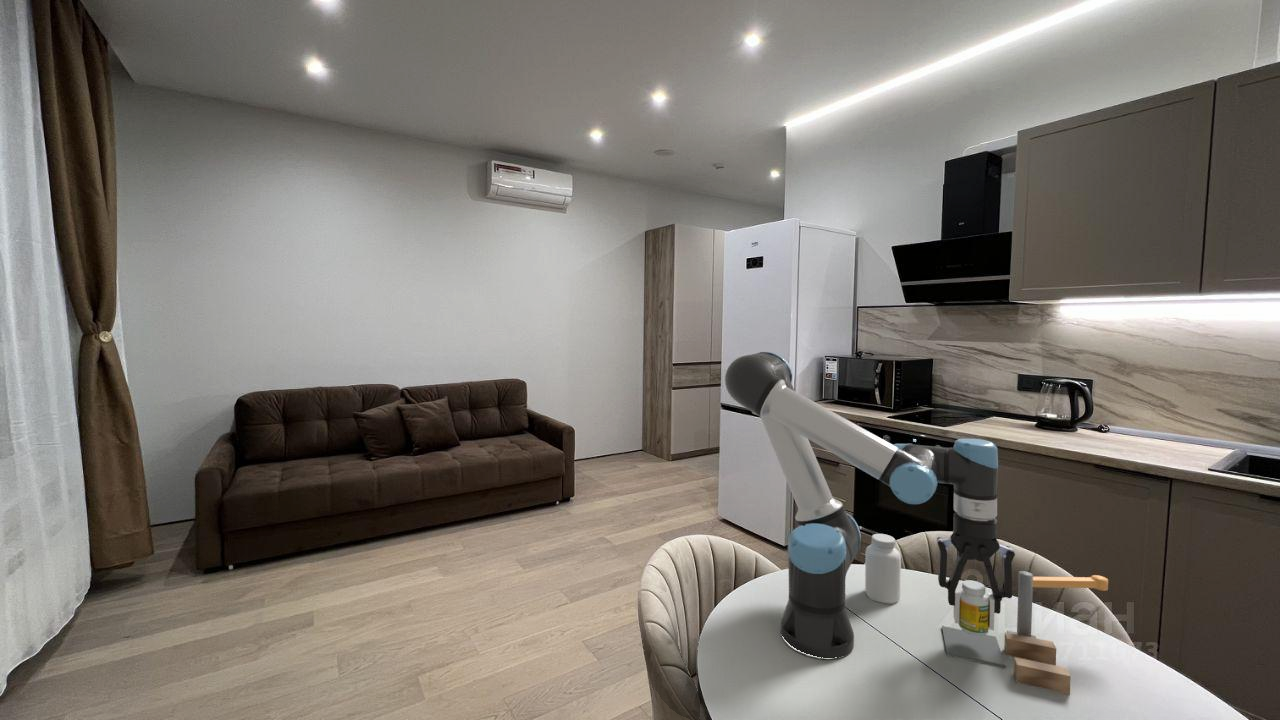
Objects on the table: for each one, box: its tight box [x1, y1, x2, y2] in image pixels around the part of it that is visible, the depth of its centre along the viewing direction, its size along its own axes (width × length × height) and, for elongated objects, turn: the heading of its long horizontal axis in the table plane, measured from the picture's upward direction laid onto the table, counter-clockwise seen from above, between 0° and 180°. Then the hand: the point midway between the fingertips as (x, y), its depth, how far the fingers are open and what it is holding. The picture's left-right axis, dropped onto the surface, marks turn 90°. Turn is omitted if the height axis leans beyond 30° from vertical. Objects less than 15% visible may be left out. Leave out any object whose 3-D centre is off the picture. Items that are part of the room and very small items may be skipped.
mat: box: [941, 625, 1007, 669], centre depth 107 cm, size 10×10×1 cm
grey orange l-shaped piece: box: [1016, 570, 1109, 637], centre depth 107 cm, size 3×17×14 cm, turn 85°
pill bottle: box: [864, 533, 902, 604], centre depth 127 cm, size 8×8×15 cm
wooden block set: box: [1003, 629, 1072, 695], centre depth 103 cm, size 8×17×4 cm, turn 155°
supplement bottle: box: [958, 579, 990, 636], centre depth 107 cm, size 5×5×10 cm
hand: (973, 622), depth 107 cm, fingers closed on supplement bottle, 5 cm apart
